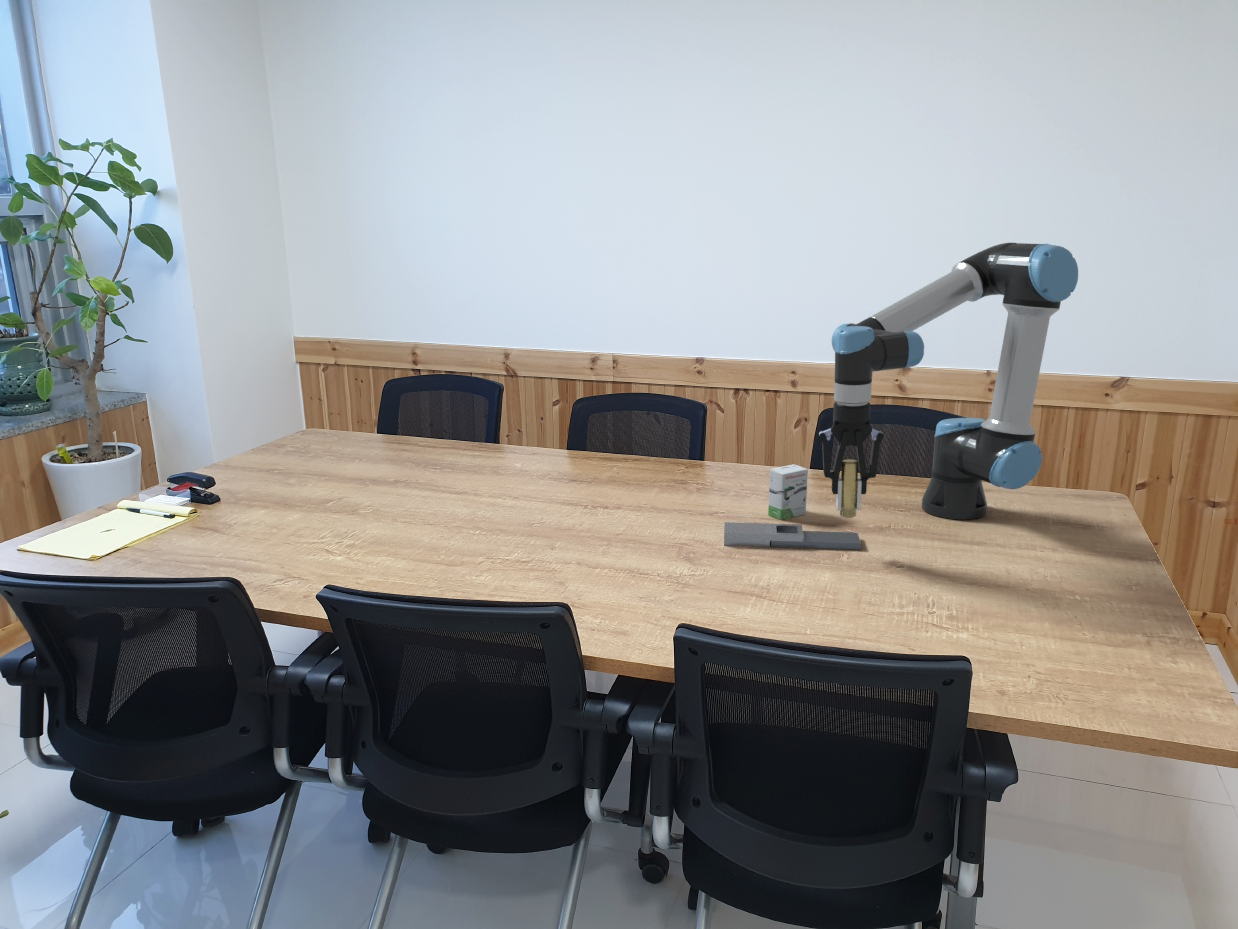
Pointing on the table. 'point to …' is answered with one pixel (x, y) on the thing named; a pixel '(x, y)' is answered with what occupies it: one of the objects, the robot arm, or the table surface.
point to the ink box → (787, 491)
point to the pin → (849, 488)
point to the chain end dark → (823, 541)
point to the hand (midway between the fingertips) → (848, 507)
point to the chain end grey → (760, 533)
